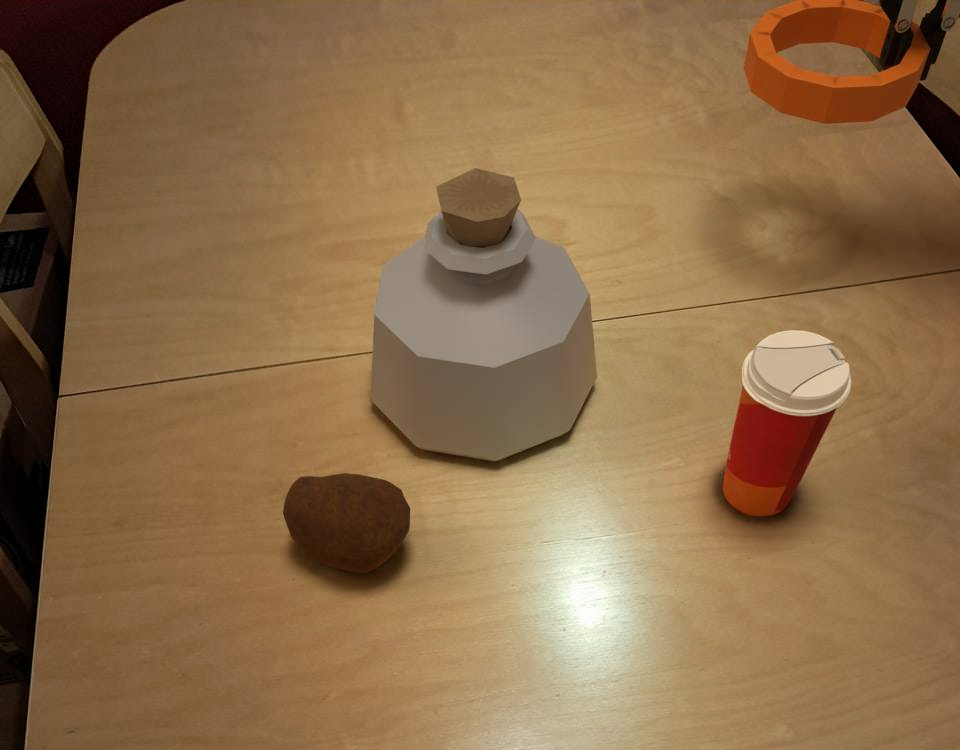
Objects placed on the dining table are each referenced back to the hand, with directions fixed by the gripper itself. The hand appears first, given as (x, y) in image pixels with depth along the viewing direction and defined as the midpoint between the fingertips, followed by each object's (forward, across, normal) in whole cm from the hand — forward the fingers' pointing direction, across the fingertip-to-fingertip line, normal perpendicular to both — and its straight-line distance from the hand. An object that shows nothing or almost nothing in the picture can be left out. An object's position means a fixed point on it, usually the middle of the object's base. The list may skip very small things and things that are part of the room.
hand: (903, 71), depth 84 cm
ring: (0, -6, 0) cm, 6 cm away
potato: (+16, -48, -38) cm, 63 cm away
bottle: (+16, -37, -20) cm, 45 cm away
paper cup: (+16, -15, -33) cm, 39 cm away
